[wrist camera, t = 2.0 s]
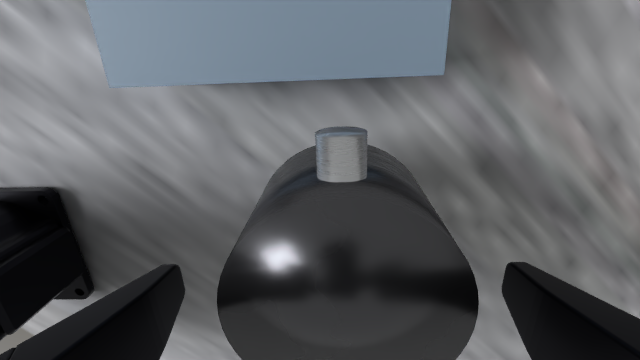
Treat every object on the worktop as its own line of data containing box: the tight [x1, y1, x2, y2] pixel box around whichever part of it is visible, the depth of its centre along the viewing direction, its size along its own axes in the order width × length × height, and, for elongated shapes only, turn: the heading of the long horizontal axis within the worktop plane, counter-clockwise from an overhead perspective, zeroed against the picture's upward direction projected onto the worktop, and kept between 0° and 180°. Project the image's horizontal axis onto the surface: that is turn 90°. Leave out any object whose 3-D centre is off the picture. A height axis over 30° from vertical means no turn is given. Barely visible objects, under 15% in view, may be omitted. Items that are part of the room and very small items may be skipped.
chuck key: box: [217, 127, 479, 360], centre depth 11 cm, size 8×6×8 cm
